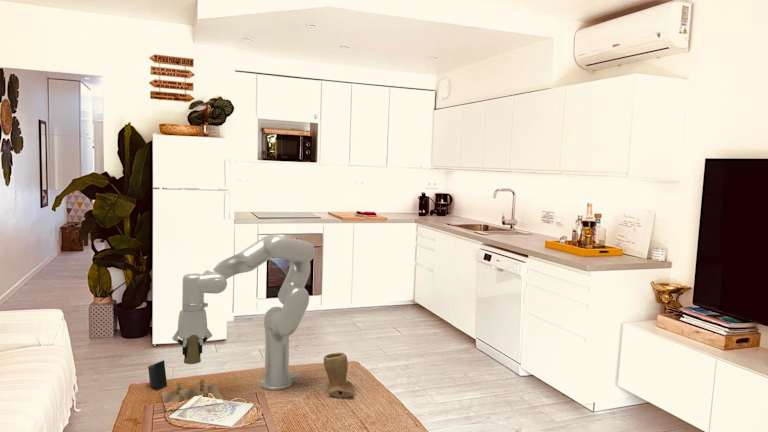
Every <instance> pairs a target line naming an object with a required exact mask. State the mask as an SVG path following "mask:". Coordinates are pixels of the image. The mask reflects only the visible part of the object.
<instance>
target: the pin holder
mask: <svg viewBox="0 0 768 432" xmlns="http://www.w3.org/2000/svg"><path fill="white" fill-rule="evenodd" d="M208 393H211V394H213V396H214V397H215V398H217V399H223V400H224V398H223V395H222V393H221V392H220V389H219V387H218V386H217V384H213V385H205V379H203V378H202V379H200V380H199V386H198V387H190V388H183V389H182V382H181V381H180V382H179V381H178V382H176V389H174V390H168V391H161V393H160V395H161V400H162V404H163V403H169V402H182V401H185V400H189V399H191V398H192V397H194V396H198V395H202V394H203V397H208Z"/></svg>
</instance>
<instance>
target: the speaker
mask: <svg viewBox="0 0 768 432" xmlns="http://www.w3.org/2000/svg"><path fill="white" fill-rule="evenodd" d="M147 368H148V377H149V386H150V388H155V389H156V391H159V390H162V389H164V388H166V387H168V382H167V374H166V363H165V360H164V359H163V360H161V361H158V362H156V363H153V364H150V365H149V366H147Z"/></svg>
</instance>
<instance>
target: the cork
mask: <svg viewBox="0 0 768 432" xmlns="http://www.w3.org/2000/svg"><path fill="white" fill-rule="evenodd" d="M186 345H187V357H186V358H185V356H184V359H183V363H184V364H186V365H194V364H195V365H196V364H199V363H201V362H202V360H201V356H199V337H198V336H197V335H191V336H190V337H189V338H188V339H187V343H186Z"/></svg>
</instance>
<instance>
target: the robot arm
mask: <svg viewBox="0 0 768 432" xmlns="http://www.w3.org/2000/svg"><path fill="white" fill-rule="evenodd" d="M315 255H316V249H315V246H314V244H312V243H311V242H309V241H307V240H306V241H305V240H302V239H293V238H288V237H284V236H282V235H281V236H280V235H277V234H267V235H265V236H264V237H262V238H260V239H259V240H257V241H255V242H254V243H252V244H250V246H247V248H245V249H243V250H242V251H240V252H238V253H236V254H234V255H231V256H230V257H227V258H225V259H223V260H221V261H219V262H217V263H216V264H214V265H213V266H211V267H210V268H208V269H207V270H205V271H204V272H203V273H187V274H186V273H185V274H184V276H183V277H182V303H181V304H182V305H181V306H182V307H181V309H182V310H180V311H179V313H178V320H177V331H175V333H174V335H173V336H172V340H173V341H174V342H176V343H178V344H179V345H180V346H182V356H184V357H185V358H186V357H187V345H186V344H187V339H188V338H189V337H190V336H191V335H197V336H198V337H199V341H198V342H199V356H200V357H201V354H203V345H204V344H205V343H206V341H208V340H209V339H210V338H212V337H213V334H212V333H211V331H210V329H209V328H208V319H207V318H208V317H207V312H206V309H205V308H208V306H209V303H208V302H205V294H215V295H216V294H220V293H223V292H224V291H225V290H226V288H227V286H228V281H227V280H228V279H229V278H231V277H234V276H235V275H239V274H244V273H248V272H252V271H254V270H255V269H256V268H258V267H259V266H261V265H263V264H264V263H266V262H268V261H269V260H271V259H272V258H276V259H280V260H286V261H289V269H288V272H287V273H286V274H287V275H286V277H284V278H285V279H284V281H283V282H282V285H281V287H280V289H279V291H278V293H277V298H278V301H279V302H280V303H281V304H282V307H280V306H273V307H270V308H268V309H267V311H266V312H265V314H264V317H263V320H264V321H263V326H264V334H265V336H264V337H265V343H264V345H265V347H264V351H265V352H264V379H262V380H261V381H260V387H262V388H263V389H265V390H272V391H278V390H279V391H280V390H284V389H288V388H290V387H291V386H292V385H293V379H294V380H295V379H300V378H301V374H300V373H298V372H297V373H296V372H295V371H294V372H290V369H289V367H290V362H289V361H290V336H291V335H293V334H294V333H295V332H296V331H297V329H298V327H299V325H301V322H302V319H303V317H304V315H305V313H306V311H307V308H308V307H309V303H310V294H309V292H308V290H307V289H306V288H305V287H306V284H307V283H308V282H307V281H308V280H309V277H310V274H311V261H312V260H313V259H314V258H315Z"/></svg>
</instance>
